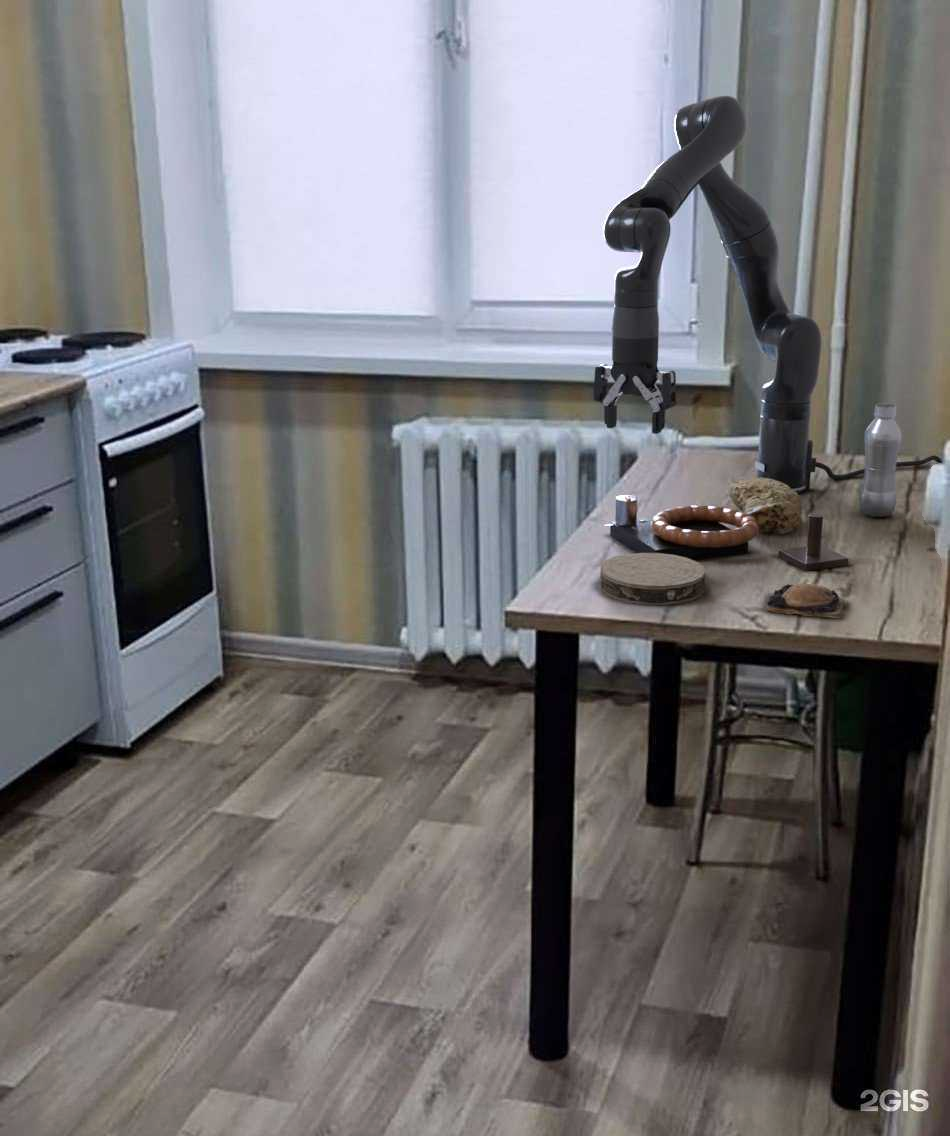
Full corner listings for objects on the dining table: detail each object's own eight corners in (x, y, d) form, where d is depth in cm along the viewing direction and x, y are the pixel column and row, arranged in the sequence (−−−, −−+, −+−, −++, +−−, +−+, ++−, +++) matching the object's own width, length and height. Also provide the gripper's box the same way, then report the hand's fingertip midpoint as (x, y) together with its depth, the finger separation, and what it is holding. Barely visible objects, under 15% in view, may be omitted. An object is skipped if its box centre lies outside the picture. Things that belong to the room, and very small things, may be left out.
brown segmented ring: (723, 514, 237) (724, 499, 237) (777, 542, 222) (778, 527, 221) (633, 525, 232) (633, 510, 231) (682, 554, 216) (683, 538, 215)
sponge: (805, 543, 233) (806, 490, 250) (799, 503, 229) (800, 452, 246) (727, 552, 237) (733, 499, 254) (721, 512, 233) (727, 461, 250)
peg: (819, 551, 225) (823, 506, 223) (848, 565, 218) (852, 519, 216) (777, 556, 223) (780, 511, 220) (805, 571, 216) (808, 524, 213)
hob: (692, 522, 242) (693, 507, 241) (747, 552, 225) (748, 537, 224) (595, 533, 236) (595, 519, 235) (644, 566, 219) (645, 550, 218)
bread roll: (845, 602, 202) (847, 579, 201) (838, 621, 195) (840, 597, 194) (773, 594, 206) (775, 570, 205) (763, 612, 198) (765, 588, 197)
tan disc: (707, 574, 215) (708, 556, 214) (700, 608, 200) (701, 589, 199) (607, 567, 218) (607, 549, 217) (592, 601, 203) (593, 582, 202)
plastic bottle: (895, 511, 247) (906, 402, 240) (893, 522, 241) (904, 410, 234) (858, 508, 249) (868, 400, 242) (856, 519, 243) (865, 408, 236)
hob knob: (612, 520, 234) (613, 493, 232) (633, 519, 234) (633, 492, 233) (618, 526, 231) (619, 499, 229) (639, 525, 231) (639, 498, 230)
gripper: (685, 332, 222) (682, 430, 227) (608, 326, 230) (607, 421, 235) (664, 339, 216) (661, 439, 221) (586, 333, 224) (585, 429, 229)
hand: (633, 430), depth 228 cm, fingers open, 8 cm apart
